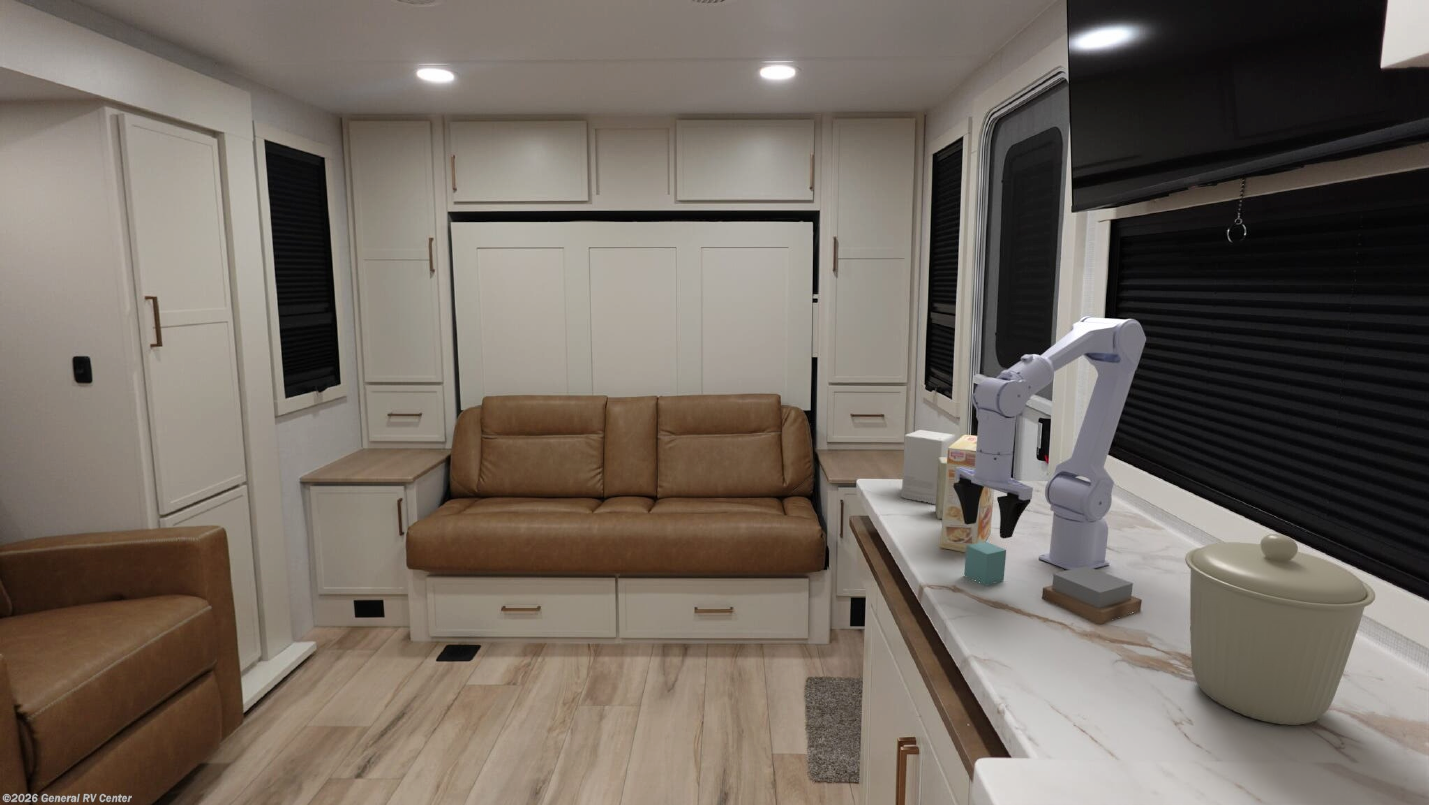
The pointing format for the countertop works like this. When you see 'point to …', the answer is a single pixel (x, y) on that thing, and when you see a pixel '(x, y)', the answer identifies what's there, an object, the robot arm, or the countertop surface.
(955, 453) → the coffeecake box
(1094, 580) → the gray square slab
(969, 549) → the teal block
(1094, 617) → the walnut slab
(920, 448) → the supplement box
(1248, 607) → the canister
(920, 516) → the countertop surface
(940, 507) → the skincare box
